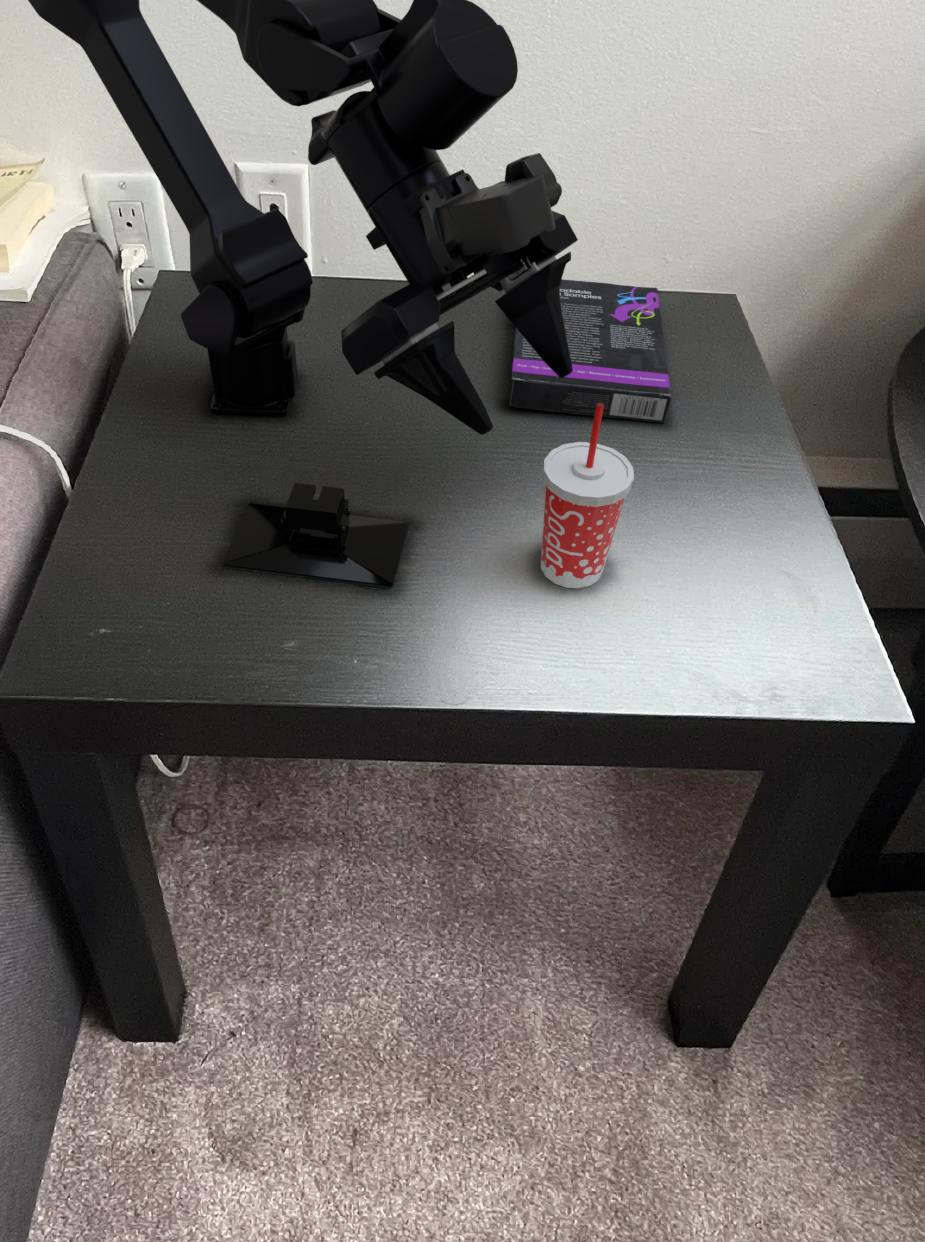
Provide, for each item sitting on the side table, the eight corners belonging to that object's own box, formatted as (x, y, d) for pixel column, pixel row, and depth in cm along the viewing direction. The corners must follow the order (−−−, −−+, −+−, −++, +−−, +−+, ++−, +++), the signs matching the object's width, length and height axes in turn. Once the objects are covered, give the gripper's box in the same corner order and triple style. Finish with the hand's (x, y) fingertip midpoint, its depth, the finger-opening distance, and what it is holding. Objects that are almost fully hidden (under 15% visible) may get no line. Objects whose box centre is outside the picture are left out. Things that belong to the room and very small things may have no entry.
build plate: (409, 526, 75) (410, 478, 71) (392, 592, 70) (393, 543, 66) (249, 506, 75) (243, 456, 72) (221, 570, 70) (213, 520, 67)
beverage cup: (514, 554, 73) (533, 391, 63) (582, 530, 75) (611, 370, 65) (559, 606, 69) (587, 442, 59) (629, 579, 72) (668, 418, 62)
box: (664, 429, 86) (653, 315, 99) (673, 395, 83) (661, 282, 97) (506, 412, 86) (516, 300, 99) (510, 378, 84) (520, 267, 97)
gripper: (372, 161, 51) (525, 423, 54) (571, 80, 61) (689, 303, 65) (277, 259, 60) (414, 479, 63) (466, 173, 70) (574, 365, 74)
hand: (529, 402), depth 66 cm, fingers open, 9 cm apart
